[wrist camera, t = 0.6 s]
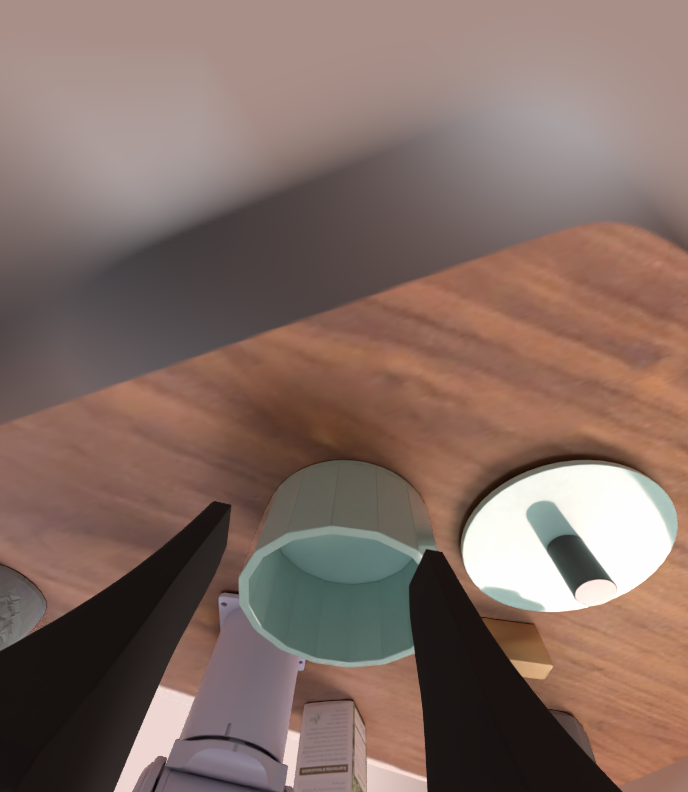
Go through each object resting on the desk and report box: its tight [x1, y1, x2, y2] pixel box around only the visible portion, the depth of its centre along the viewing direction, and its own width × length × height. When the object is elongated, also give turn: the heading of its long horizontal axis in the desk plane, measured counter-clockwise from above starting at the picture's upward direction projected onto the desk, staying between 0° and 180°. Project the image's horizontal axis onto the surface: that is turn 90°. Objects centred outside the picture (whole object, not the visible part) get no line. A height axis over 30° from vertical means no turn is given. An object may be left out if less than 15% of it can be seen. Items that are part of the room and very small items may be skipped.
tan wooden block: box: [482, 618, 553, 680], centre depth 27 cm, size 8×2×3 cm, turn 83°
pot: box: [239, 460, 437, 668], centre depth 22 cm, size 12×12×6 cm
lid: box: [461, 460, 678, 612], centre depth 21 cm, size 14×14×4 cm
